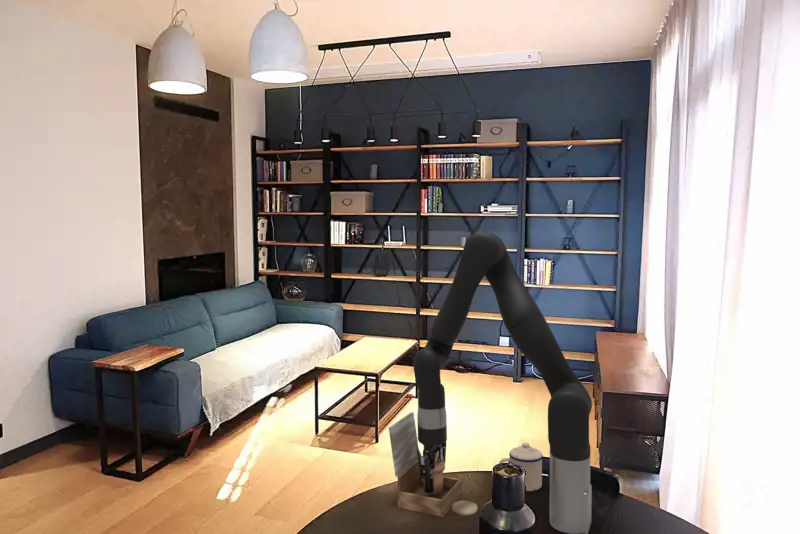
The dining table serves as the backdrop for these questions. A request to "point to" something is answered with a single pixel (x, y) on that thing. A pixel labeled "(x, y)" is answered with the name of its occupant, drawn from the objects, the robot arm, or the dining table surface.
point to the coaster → (464, 508)
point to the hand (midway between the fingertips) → (433, 486)
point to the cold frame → (417, 473)
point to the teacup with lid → (528, 464)
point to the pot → (437, 478)
